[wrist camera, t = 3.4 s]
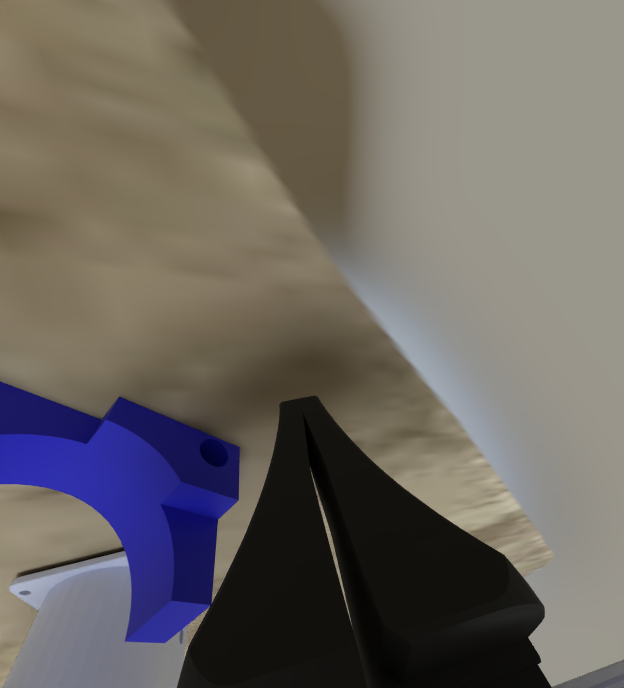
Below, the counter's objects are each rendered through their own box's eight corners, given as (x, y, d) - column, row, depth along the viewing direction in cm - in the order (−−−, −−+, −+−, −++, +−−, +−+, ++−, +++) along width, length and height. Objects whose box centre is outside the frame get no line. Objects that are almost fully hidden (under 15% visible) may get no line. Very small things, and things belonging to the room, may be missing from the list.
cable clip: (239, 445, 15) (236, 583, 10) (190, 495, 16) (165, 643, 11) (-70, 313, 9) (-450, 474, 4) (-113, 403, 10) (-456, 619, 5)
